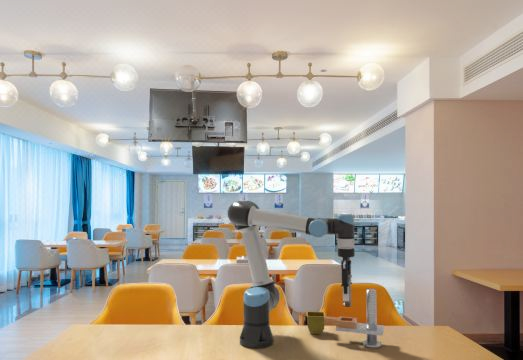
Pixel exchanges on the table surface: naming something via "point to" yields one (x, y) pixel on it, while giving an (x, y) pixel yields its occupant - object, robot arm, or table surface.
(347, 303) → the pin
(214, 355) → the table surface
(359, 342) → the table surface
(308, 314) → the flower pot
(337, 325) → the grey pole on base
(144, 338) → the table surface
